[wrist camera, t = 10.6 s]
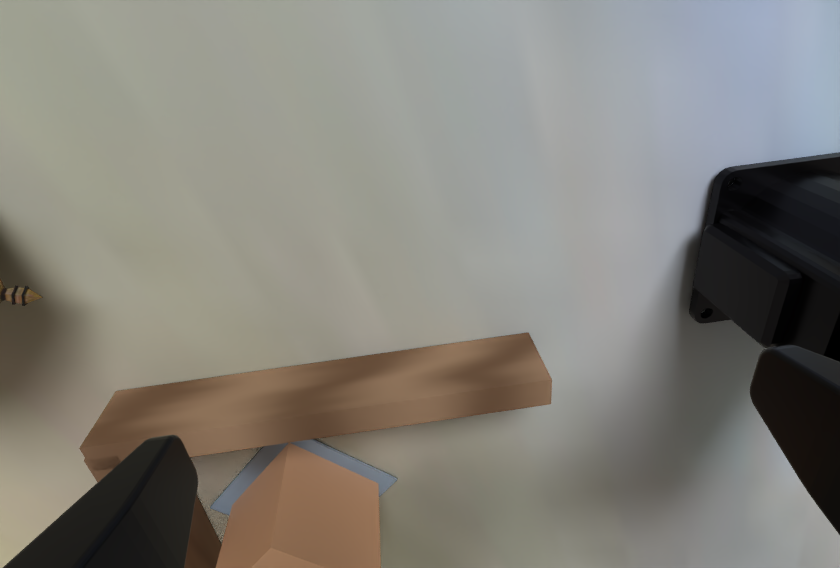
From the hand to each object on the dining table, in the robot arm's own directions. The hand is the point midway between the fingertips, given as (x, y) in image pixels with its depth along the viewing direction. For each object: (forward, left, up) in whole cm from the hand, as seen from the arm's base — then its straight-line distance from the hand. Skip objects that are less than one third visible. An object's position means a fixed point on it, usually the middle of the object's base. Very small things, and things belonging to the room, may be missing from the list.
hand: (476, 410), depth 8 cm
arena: (+4, +16, -11) cm, 20 cm away
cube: (+7, +15, -11) cm, 19 cm away
